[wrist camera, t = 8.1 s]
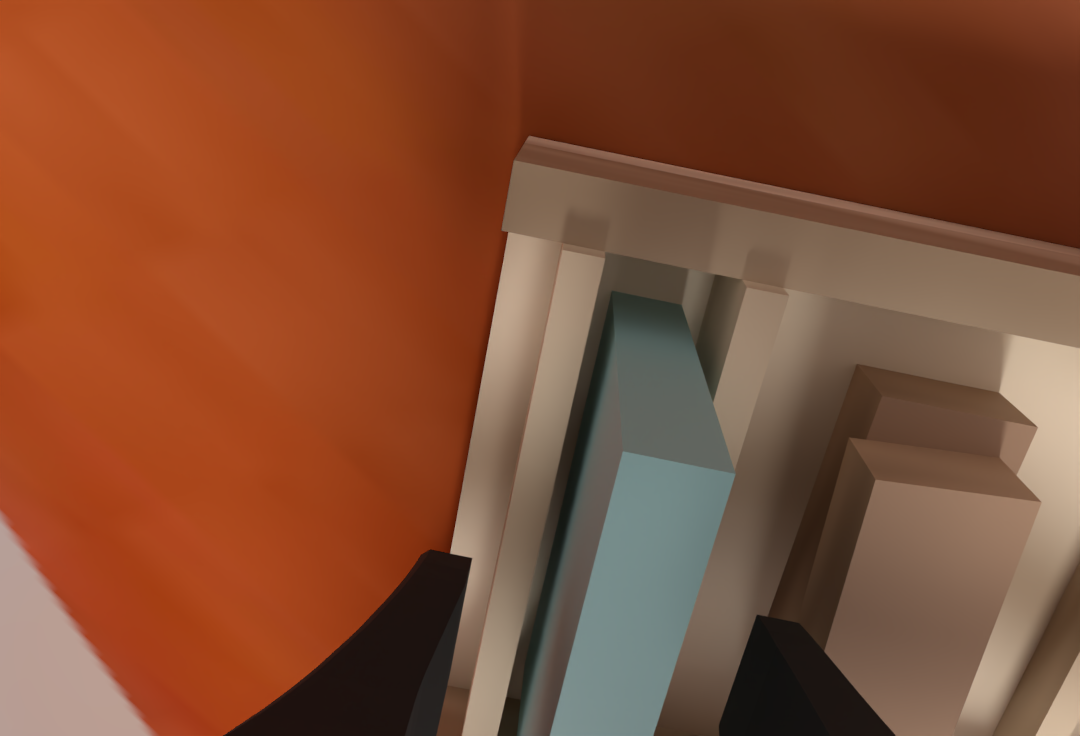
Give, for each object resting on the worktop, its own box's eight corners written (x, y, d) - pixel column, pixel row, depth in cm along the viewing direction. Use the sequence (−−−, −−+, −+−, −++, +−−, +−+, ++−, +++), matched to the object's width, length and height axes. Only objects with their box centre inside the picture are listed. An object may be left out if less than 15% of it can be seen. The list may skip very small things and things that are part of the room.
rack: (1132, 822, 19) (1237, 976, 16) (428, 684, 19) (395, 814, 16) (1437, 322, 15) (1664, 400, 12) (529, 135, 15) (511, 164, 12)
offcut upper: (891, 762, 16) (917, 826, 15) (763, 744, 16) (777, 807, 15) (999, 457, 14) (1041, 502, 12) (848, 437, 14) (875, 479, 12)
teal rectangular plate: (583, 676, 18) (577, 976, 12) (524, 664, 18) (492, 960, 12) (681, 305, 15) (735, 473, 9) (611, 290, 15) (622, 450, 9)
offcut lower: (865, 706, 17) (887, 761, 16) (744, 682, 17) (756, 735, 16) (999, 393, 15) (1038, 427, 14) (856, 363, 15) (882, 395, 14)
